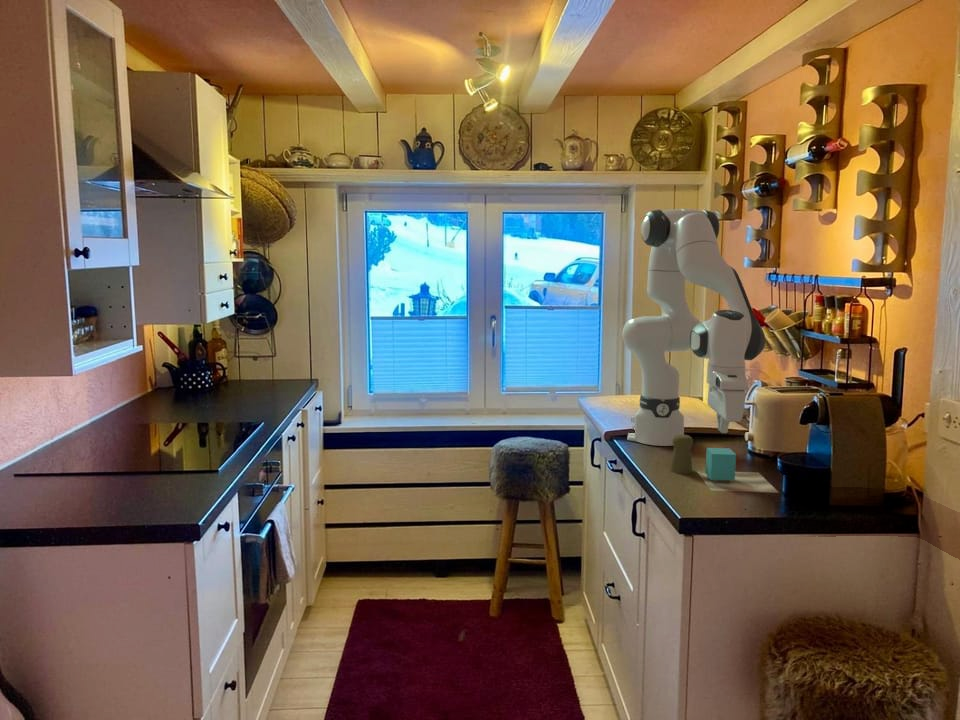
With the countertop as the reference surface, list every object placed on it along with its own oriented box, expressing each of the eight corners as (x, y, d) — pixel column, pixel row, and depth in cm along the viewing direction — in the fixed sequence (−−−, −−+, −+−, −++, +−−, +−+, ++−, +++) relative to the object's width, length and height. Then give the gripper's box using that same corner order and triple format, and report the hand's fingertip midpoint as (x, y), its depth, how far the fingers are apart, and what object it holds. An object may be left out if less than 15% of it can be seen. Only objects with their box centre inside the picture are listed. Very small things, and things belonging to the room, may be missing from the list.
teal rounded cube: (705, 472, 186) (706, 447, 185) (728, 473, 186) (730, 448, 185) (710, 479, 181) (712, 453, 180) (734, 480, 180) (736, 454, 179)
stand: (696, 476, 192) (697, 444, 190) (758, 478, 191) (760, 446, 189) (710, 496, 176) (712, 462, 175) (778, 498, 175) (781, 464, 174)
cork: (674, 471, 196) (676, 431, 194) (696, 475, 192) (698, 435, 191) (665, 476, 191) (667, 435, 190) (686, 481, 188) (689, 439, 186)
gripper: (703, 369, 190) (700, 421, 192) (723, 383, 170) (719, 441, 172) (727, 370, 189) (724, 422, 191) (750, 384, 169) (747, 442, 171)
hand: (722, 431), depth 181 cm, fingers closed
